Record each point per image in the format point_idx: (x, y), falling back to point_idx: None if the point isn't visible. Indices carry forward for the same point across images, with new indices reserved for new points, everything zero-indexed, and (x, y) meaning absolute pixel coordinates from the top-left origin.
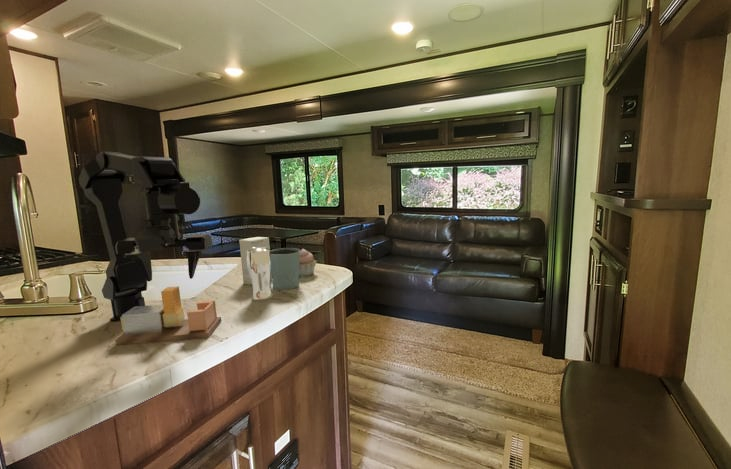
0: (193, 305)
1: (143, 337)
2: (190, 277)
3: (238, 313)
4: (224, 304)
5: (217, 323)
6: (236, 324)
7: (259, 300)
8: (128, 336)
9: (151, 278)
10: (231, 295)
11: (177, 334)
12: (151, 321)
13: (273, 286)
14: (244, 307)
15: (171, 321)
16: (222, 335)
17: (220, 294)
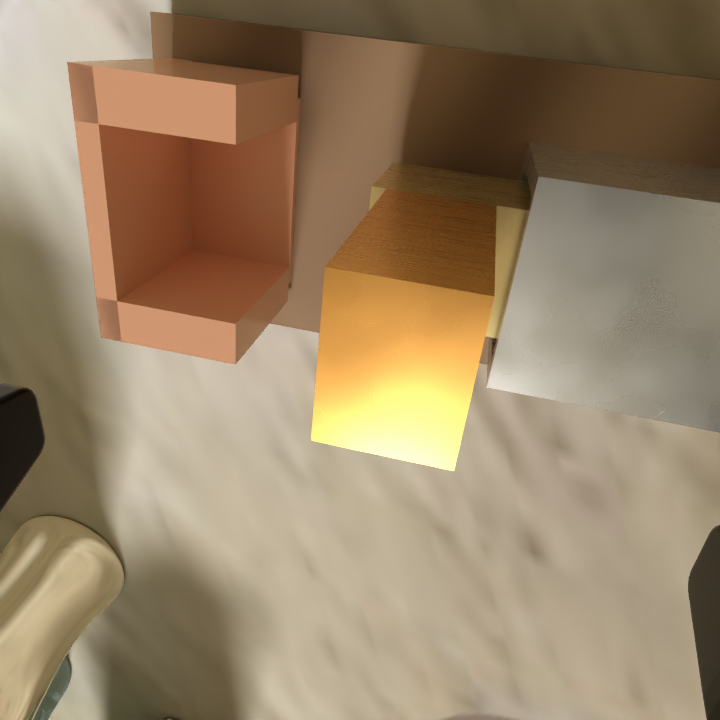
0: (444, 607)
1: (669, 78)
2: (3, 392)
3: (121, 380)
4: (256, 546)
5: None
6: (66, 203)
7: (69, 519)
8: None
9: (699, 604)
10: (257, 651)
11: (386, 54)
12: (618, 170)
13: None
14: (119, 457)
15: (444, 181)
16: (87, 29)
17: (325, 689)
